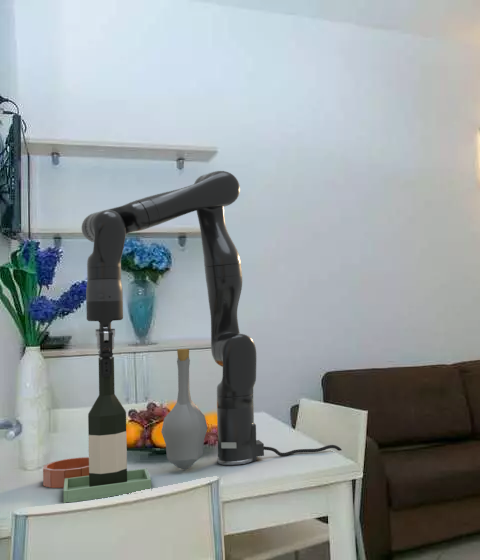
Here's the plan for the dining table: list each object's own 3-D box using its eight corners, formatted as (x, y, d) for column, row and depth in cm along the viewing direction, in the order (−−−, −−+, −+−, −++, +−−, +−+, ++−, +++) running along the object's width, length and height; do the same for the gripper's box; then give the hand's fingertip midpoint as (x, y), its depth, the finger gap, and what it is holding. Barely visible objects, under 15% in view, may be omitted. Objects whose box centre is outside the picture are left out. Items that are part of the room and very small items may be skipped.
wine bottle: (134, 481, 157) (131, 351, 157) (120, 492, 148) (117, 354, 149) (97, 483, 156) (95, 352, 157) (81, 493, 148) (79, 356, 149)
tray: (147, 479, 161) (146, 468, 161) (151, 491, 151) (151, 479, 151) (64, 490, 153) (64, 478, 154) (63, 503, 143) (63, 491, 143)
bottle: (155, 469, 170) (153, 349, 171) (199, 461, 177) (197, 346, 178) (169, 478, 161) (167, 351, 162) (215, 470, 168) (213, 348, 169)
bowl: (101, 470, 170) (101, 454, 170) (103, 482, 159) (103, 465, 159) (44, 477, 165) (44, 461, 165) (42, 490, 153) (41, 473, 153)
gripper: (124, 299, 148) (125, 377, 148) (121, 299, 161) (122, 371, 161) (86, 299, 145) (87, 380, 145) (86, 300, 158) (87, 373, 157)
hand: (105, 375), depth 153 cm, fingers open, 4 cm apart
